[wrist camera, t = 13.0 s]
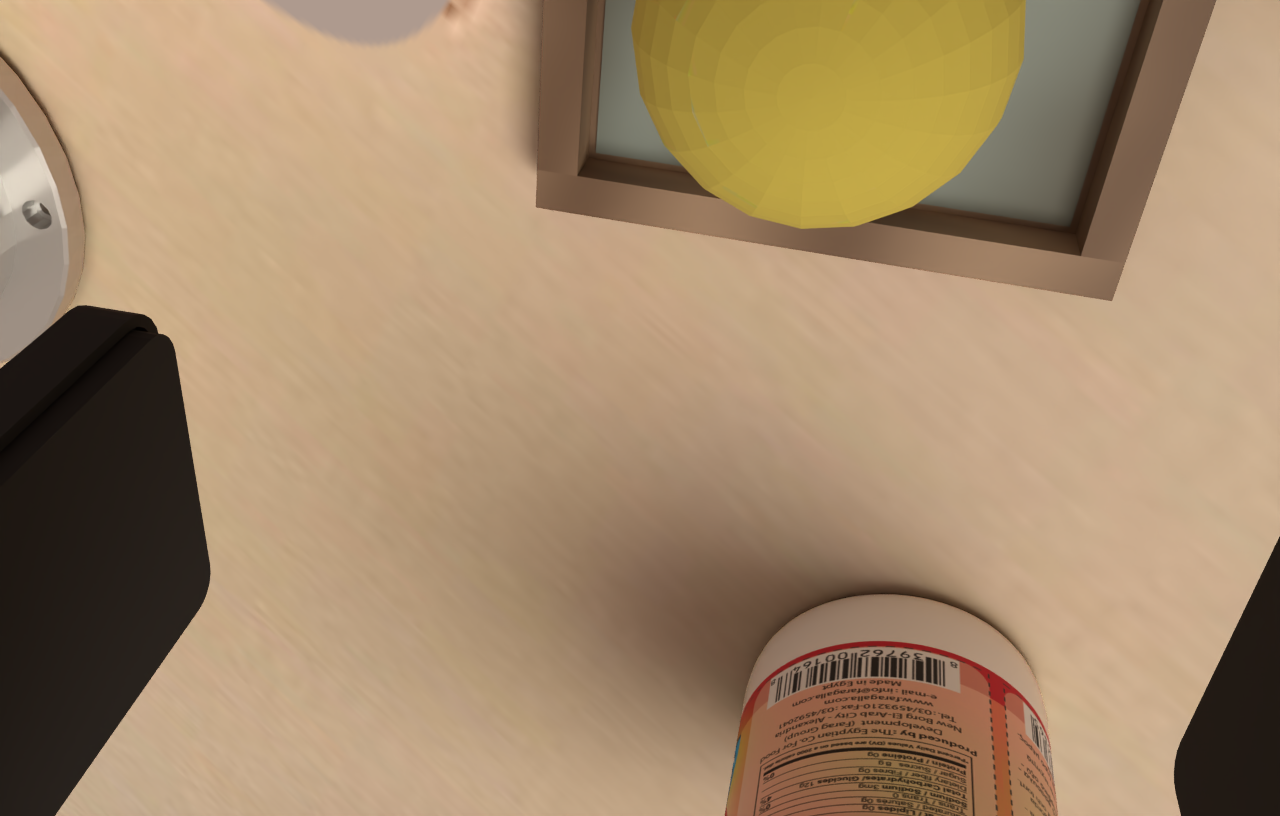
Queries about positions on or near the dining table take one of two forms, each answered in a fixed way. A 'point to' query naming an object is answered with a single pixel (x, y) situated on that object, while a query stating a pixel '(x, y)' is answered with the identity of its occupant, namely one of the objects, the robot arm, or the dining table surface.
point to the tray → (954, 213)
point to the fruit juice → (891, 717)
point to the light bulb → (826, 97)
